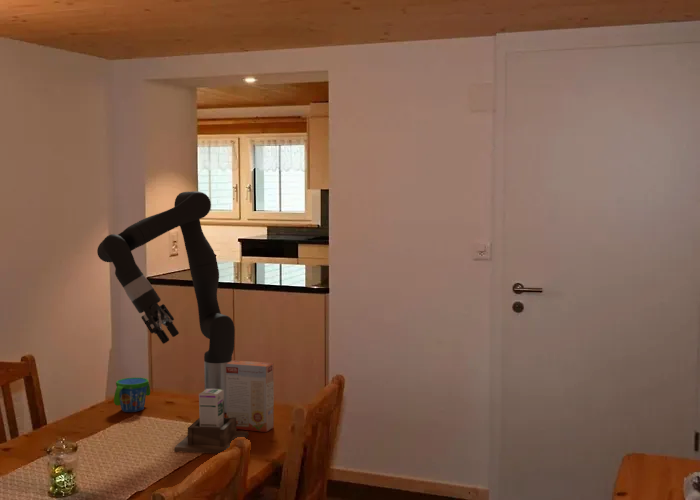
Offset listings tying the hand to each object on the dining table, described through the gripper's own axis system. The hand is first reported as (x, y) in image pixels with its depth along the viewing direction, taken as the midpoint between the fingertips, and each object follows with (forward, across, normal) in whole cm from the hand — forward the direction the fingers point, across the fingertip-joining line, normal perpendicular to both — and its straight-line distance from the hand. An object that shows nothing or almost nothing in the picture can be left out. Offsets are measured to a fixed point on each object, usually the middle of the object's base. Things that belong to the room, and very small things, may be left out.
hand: (171, 338), depth 228 cm
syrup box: (+32, -8, +3) cm, 33 cm away
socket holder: (+32, -8, +4) cm, 34 cm away
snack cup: (+14, +22, +36) cm, 44 cm away
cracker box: (+38, +7, -2) cm, 38 cm away
